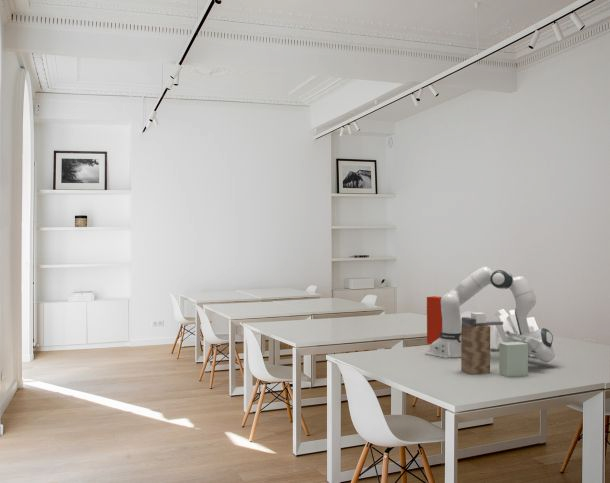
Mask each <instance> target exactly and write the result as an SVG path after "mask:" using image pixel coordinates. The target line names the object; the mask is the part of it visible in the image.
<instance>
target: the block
mask: <svg viewBox="0 0 610 483" xmlns="http://www.w3.org/2000/svg"><path fill="white" fill-rule="evenodd" d="M498 352H499V353H498V355H499V356H498V357H499V358H498V361H499V362H498V363H499V364H498V367H499V369H498V370H499V371H498V374H499V375H501V376H504V377H506V378H510V377H521V376H522V377H523V376H525V377H526V376H529V353H528V344H526V343H522V342H506V343H504V342H498Z"/></svg>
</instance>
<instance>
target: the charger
mask: <svg viewBox="0 0 610 483" xmlns="http://www.w3.org/2000/svg"><path fill="white" fill-rule="evenodd" d="M470 318H473V319H476V326H489V325H503V322H502V321H499V320H493V321H491V320H490V321H487V313H485V312H481V311H479V312H470Z"/></svg>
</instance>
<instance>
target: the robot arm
mask: <svg viewBox="0 0 610 483" xmlns="http://www.w3.org/2000/svg"><path fill="white" fill-rule="evenodd" d="M488 285H492V286H493V287H495V288H496V289H499V290H507V289H509V290H510V291H511V294H512V295H513V298H514V301H515V308H514V310H515V316H516V320H517V324H518V328H519V332H520V334H518V333H512V332H509V331H507V330H506V331H505V333H506V334H507V336H506V337H507V338H508V339H510V340H512V341H513V342H522V343H526V344H528V355H530V354H531V355H534V357H533V358H535V359H537V360H539V361H541V362H544V363H549V362H551V361H553V360H554V359H555V357H556V352H555V350H554V348H553V340H554V335H553V334H552V332H551V331H550V330H549V329H547V328H543V327H542V328H540V329H539V328H538V329H539V330H536V331H534V332H530V331H529V327H528V323H527V318H528V315H529V313H530V312H531V311H532V310H533V308H534V307H535V306H536V304H537V298H536V294H535V293H534V290H533V288H532V286H531V284H530V282H529V281H528V280H527V278H526V277H525V276H523V275H518V276H515V277H514V276H513V275H512V274H511V273H510V272H508V270H500V269H497V270H495V271H493V269H491V268H490V267H489V266H482V267H480V268H478V269H477V270H475V271H473V272H472V273H471V274H469V275H468V276H467V277H465V278H464V279H463V280H462V281H461V282H459V283H458V284H457V285H455V287H453V288H452V289H451V290H449V291H448V292H447V293H445V294H443V295H442V296H441V297H442V298H441V312H442V332H441V333H439V335H440V338H438V339H437V340H436V341H434V342H433V343H432V344H430V346H429V350H427V351H426V353H425V354H426V355H428V356H433V357H434V356H435V357H440V358H445V359H447V358H461V325H462V318H461V313H460V312H461V310H460V308H461V306H462V305H464V304H465V303H466V302H467V301H469V300H470V299H471V298H472V297H474V296H475V295H476V294H477V293H480V291H482V290H484V288H486V287H487V286H488Z"/></svg>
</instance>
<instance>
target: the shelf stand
mask: <svg viewBox="0 0 610 483" xmlns="http://www.w3.org/2000/svg"><path fill="white" fill-rule="evenodd" d="M460 359H461V361H460V362H461V363H460V366H461V367H460V368H461V372H463V373H466V374H468V375H479V374H490V373H491V350H490V326H489V325H487V326H476V319H473V318H471V317H468V316H466V317H465V316H463V317H461V357H460Z"/></svg>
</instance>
